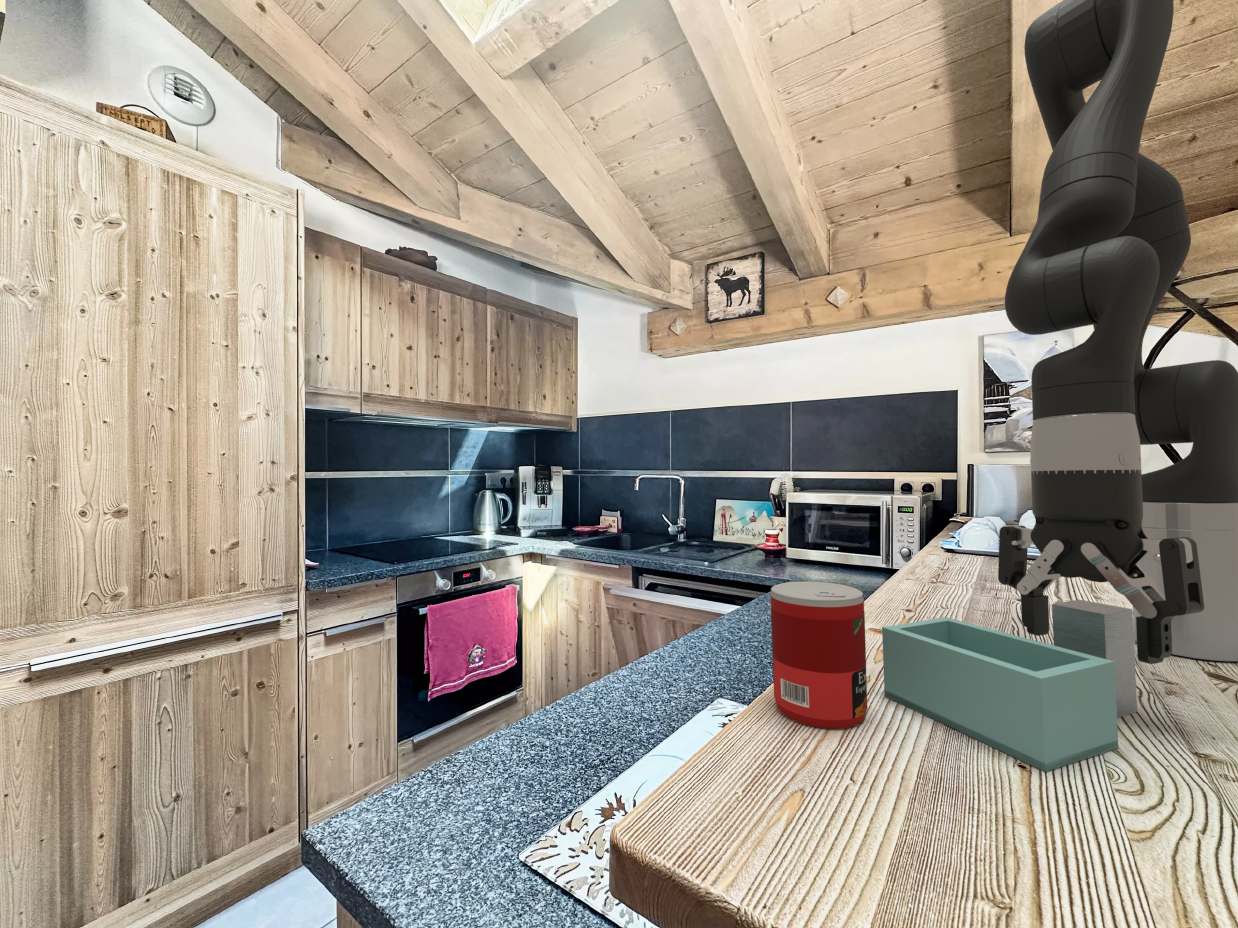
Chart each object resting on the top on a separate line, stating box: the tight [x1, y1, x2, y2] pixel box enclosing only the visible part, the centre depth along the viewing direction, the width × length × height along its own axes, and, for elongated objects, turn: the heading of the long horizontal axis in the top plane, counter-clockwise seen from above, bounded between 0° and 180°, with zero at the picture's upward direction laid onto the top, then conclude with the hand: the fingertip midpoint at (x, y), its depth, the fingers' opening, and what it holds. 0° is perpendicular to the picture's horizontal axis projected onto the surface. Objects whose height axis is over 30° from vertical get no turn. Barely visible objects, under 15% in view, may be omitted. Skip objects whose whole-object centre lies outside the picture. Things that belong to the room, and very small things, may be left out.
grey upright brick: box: [1051, 599, 1138, 719], centre depth 47 cm, size 4×4×9 cm
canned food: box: [770, 581, 868, 730], centre depth 48 cm, size 8×8×11 cm
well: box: [881, 616, 1119, 773], centre depth 45 cm, size 8×14×7 cm, turn 20°
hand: (1089, 646), depth 47 cm, fingers open, 8 cm apart
